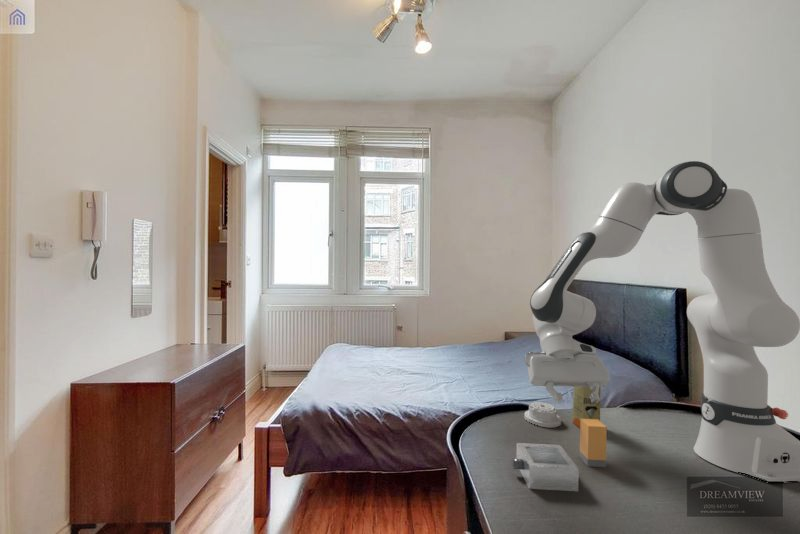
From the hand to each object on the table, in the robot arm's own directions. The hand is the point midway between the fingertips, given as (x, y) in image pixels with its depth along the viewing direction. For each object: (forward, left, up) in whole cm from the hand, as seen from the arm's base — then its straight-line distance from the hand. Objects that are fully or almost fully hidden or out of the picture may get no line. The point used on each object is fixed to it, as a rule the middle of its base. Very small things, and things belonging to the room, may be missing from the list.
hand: (577, 401), depth 90 cm
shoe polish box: (-8, -12, -11) cm, 18 cm away
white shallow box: (+12, +14, -11) cm, 22 cm away
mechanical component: (+3, -15, -12) cm, 19 cm away
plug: (-1, +7, -11) cm, 13 cm away
